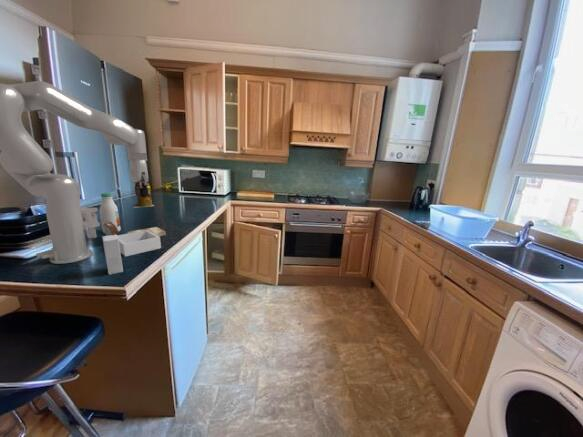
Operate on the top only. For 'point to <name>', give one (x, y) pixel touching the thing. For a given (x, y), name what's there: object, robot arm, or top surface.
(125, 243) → the bin
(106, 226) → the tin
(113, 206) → the milk bottle
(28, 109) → the robot arm
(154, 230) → the board
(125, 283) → the top surface
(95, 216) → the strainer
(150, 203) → the condiment
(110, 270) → the skincare box
